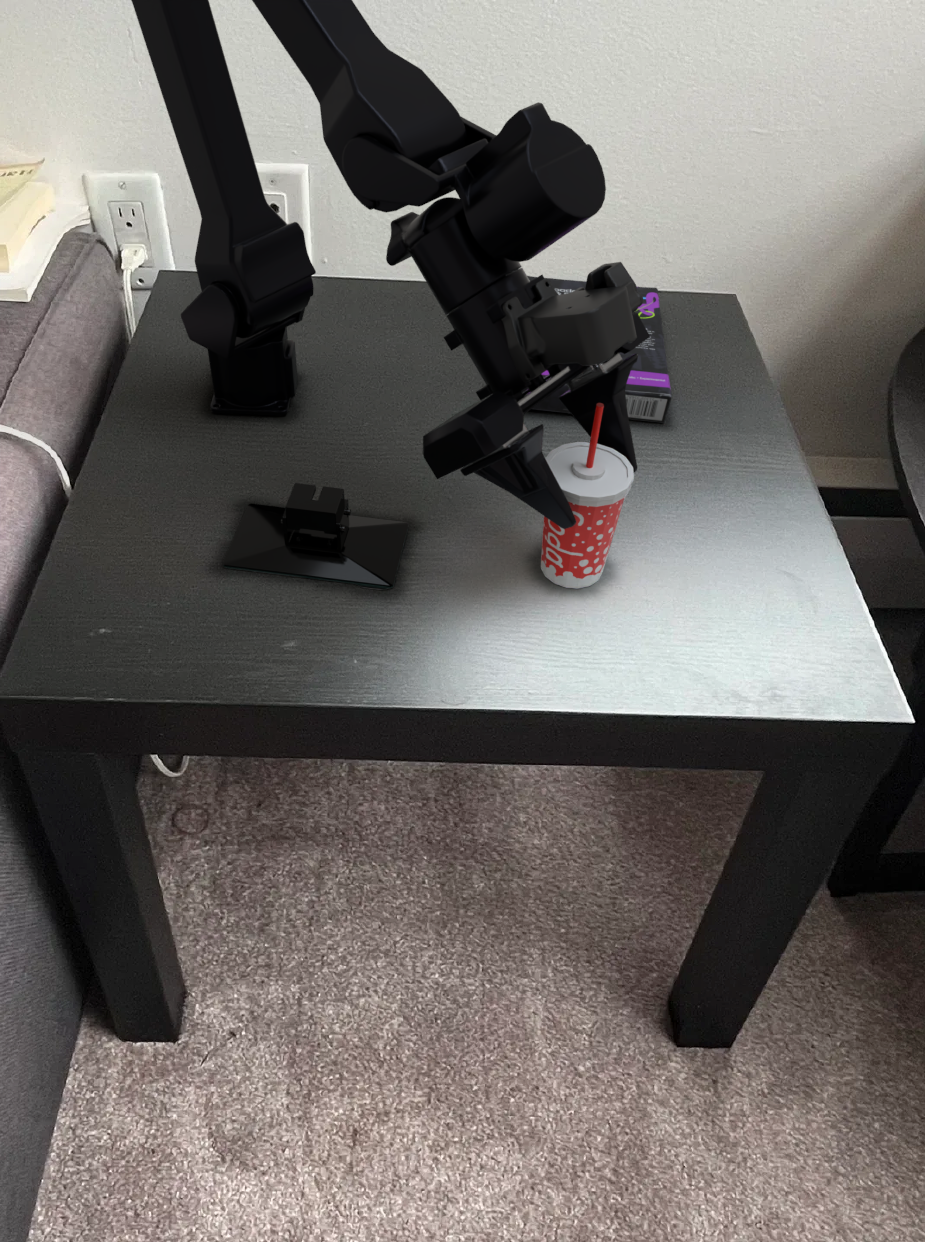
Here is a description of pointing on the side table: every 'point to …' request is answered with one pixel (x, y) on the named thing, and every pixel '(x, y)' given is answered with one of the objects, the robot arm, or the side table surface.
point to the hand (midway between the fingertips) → (602, 499)
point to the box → (647, 375)
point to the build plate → (318, 541)
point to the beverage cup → (585, 509)
